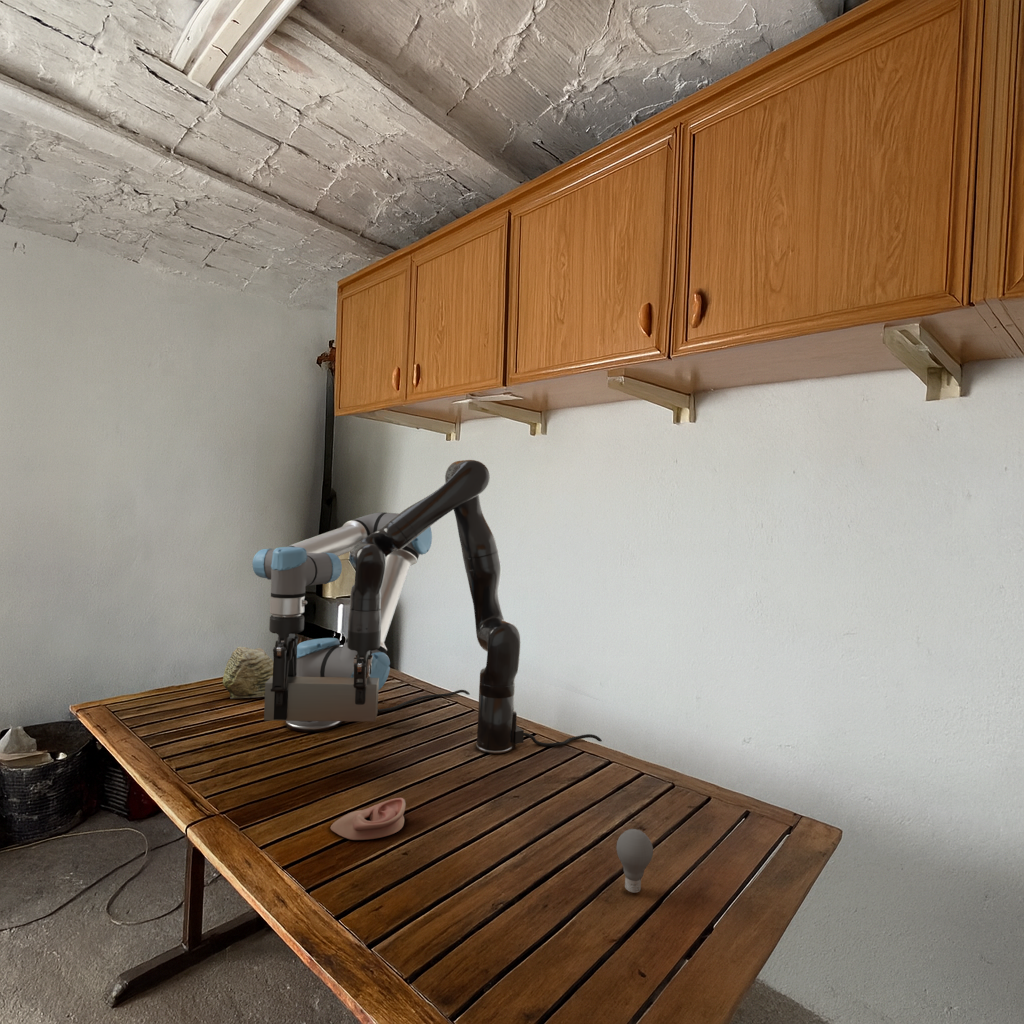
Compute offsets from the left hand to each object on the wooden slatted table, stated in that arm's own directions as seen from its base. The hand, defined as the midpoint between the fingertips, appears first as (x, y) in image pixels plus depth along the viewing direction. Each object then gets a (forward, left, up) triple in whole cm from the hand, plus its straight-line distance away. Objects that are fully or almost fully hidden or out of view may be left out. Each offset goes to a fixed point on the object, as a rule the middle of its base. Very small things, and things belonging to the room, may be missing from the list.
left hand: (283, 714), depth 146 cm
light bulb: (-14, +83, -13) cm, 85 cm away
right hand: (-12, +13, +4) cm, 18 cm away
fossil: (-23, -54, -13) cm, 60 cm away
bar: (-6, +6, -1) cm, 9 cm away
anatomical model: (+3, +35, -13) cm, 37 cm away
